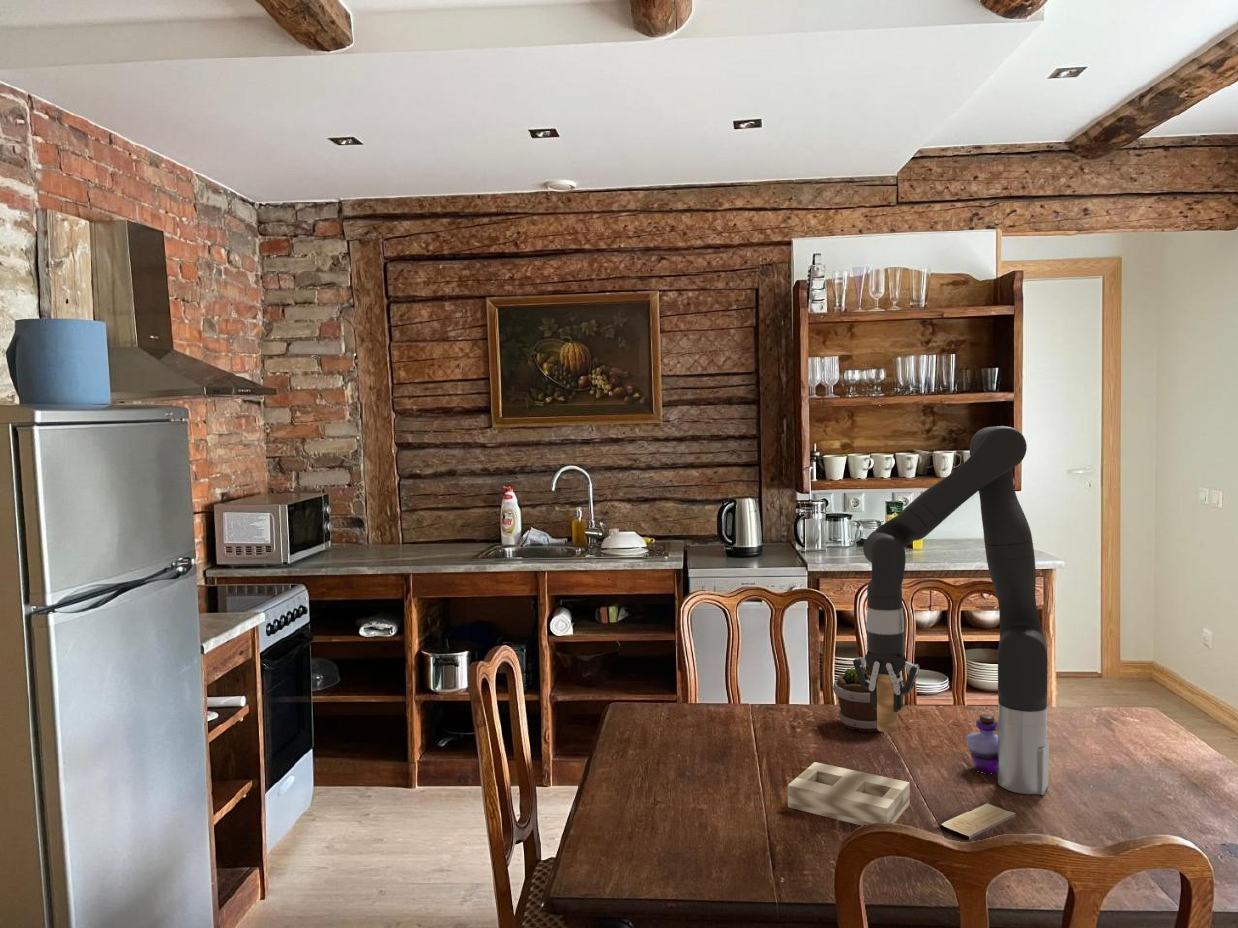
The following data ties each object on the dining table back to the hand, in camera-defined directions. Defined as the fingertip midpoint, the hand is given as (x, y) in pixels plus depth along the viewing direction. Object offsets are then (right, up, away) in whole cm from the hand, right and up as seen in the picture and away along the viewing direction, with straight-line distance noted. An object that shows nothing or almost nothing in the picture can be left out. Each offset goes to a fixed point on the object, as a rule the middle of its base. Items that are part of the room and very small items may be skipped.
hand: (886, 708), depth 188 cm
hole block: (-10, -17, -9) cm, 22 cm away
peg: (0, -4, 0) cm, 4 cm away
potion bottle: (+24, -16, +8) cm, 30 cm away
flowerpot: (+5, -14, +37) cm, 40 cm away
